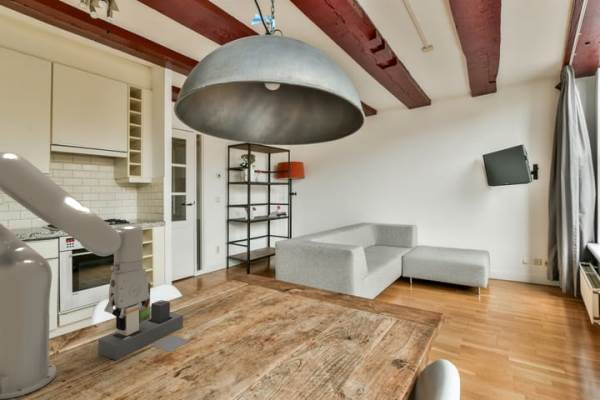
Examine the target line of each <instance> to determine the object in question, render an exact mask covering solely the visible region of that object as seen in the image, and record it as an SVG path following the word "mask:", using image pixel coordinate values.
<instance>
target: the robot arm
mask: <svg viewBox="0 0 600 400" xmlns="http://www.w3.org/2000/svg"><path fill="white" fill-rule="evenodd" d="M0 191H1V192H3V193H4V194H5V195H7V196H8V197H9V198H11V199H12V200H13V201H15V202H17V203H18V204H19V205H21V207H24V208H25V209H26V210H28V211H29V212H30V213H32V214H33V215H34V216H36V217H38V218H39V219H41V220H42V221H44V222H45V223H48V224H49V225H51V226H53V227H54V228H57V229H58V230H60V231H62V232H63V233H65V234H66V235H68V236H70V238H73V240H76V241H77V242H78V243H80V245H81V246H82V247H83V249H85V250H87V251H88V252H90V253H92V254H94V255H96V256H100V257H108V256H111V255H113V265H111V266H110V267H109V268H110V271H111V272H112V271H113V272H112V273H111V277H110V281H109V287H108V289H109V290H108V302H107V304H106V306H105V308H104V312H106V313H108V314H112V316H114V317H115V325H116V326H115V327H116V329H117V330H118V329H119V330H122V331H124V330H125V329H126V317H124V312H125V308H126V307H128V306H131V305H134V304H139V324H140V311H141V310H142V306H143V305H144V303H145V301H146V300H147V299H148V298H149V297H150V298H151V294H150V295H149V293H148V281H149V280H148V275H147V271H146V268H145V267H144V266H143V265H144V264H143V263H144V262H143V261H144V258H143V257H144V252H143V251H144V246H143V245H144V243H143V241H144V229H143V226H142V225H139V224H121V225H110V224H109V223H108V222H107V221H106V220H104V219H103V218H101V217H100V216H99V215H98V214H97V213H95V212H93V210H91V209H90V208H89V207H87V206H85V205H84V204H83V203H82V202H80V201H79V200H78V199H77V198H75V197H74V196H73V195H72V194H70V193H69V192H67V191H66V190H65V189H63V187H61V186H60V185H59V184H57V183H56V182H55V181H54V180H52V179H51V178H50V177H49V176H48V175H47V174H45V173H44V172H43V171H42V170H40V169H39V168H38V167H36V165H34V164H33V163H32V162H30V161H29V160H28V159H26V158H25V157H24V156H22V155H20V154H18V153H15V152H12V151H1V152H0ZM52 278H53V272H52V268H51V265H50V263H49V262H48V260H47V259H46V258H45V257H43V255H41V254H40V253H39V252H38V251H36V250H35V249H34V248H32V247H31V246H30V245H28V244H27V243H26V242H24V241H23V240H22V239H21V238H20V237H18V236H17V235H16V234H14V233H13V232H12V231H11V230H10V229H8V228H7V227H6V226H4V225H3V224H2V223H0V400H7V399H13V398H16V397H21V396H24V395H26V394H30V393H33V392H34V391H36V390H39V389H41V388H42V387H45V386H46V385H47V384H49V383H50V382H51V381H52V380H54V379H55V378H56V376H57V373H58V372H57V369H58V368H57V367H56V366H55V365H53V364H51V363H50V319H51V318H50V316H51V315H50V308H51V307H50V305H51V303H50V301H51V299H50V298H51V289H52V288H51V287H52V281H53V279H52ZM119 311H120V312H119Z"/></svg>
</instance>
